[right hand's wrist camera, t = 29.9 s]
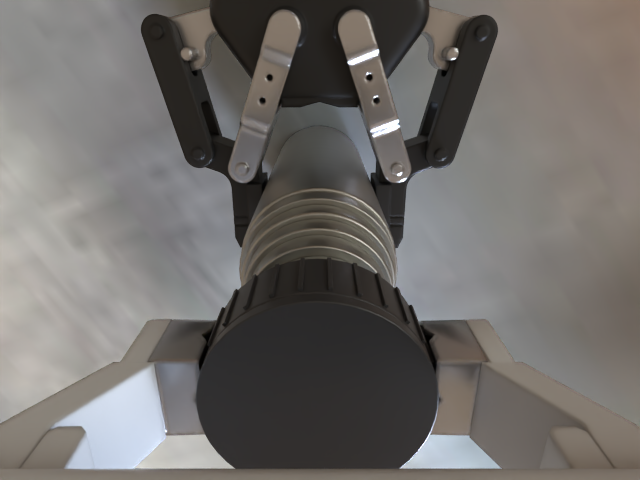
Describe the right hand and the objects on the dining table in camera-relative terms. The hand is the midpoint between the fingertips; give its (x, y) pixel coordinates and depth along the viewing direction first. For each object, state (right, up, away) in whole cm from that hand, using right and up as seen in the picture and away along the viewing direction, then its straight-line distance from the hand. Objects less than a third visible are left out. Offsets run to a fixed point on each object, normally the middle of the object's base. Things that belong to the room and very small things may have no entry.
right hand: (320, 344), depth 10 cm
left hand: (0, +2, +11) cm, 12 cm away
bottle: (0, +7, +16) cm, 18 cm away
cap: (0, -1, -2) cm, 2 cm away
